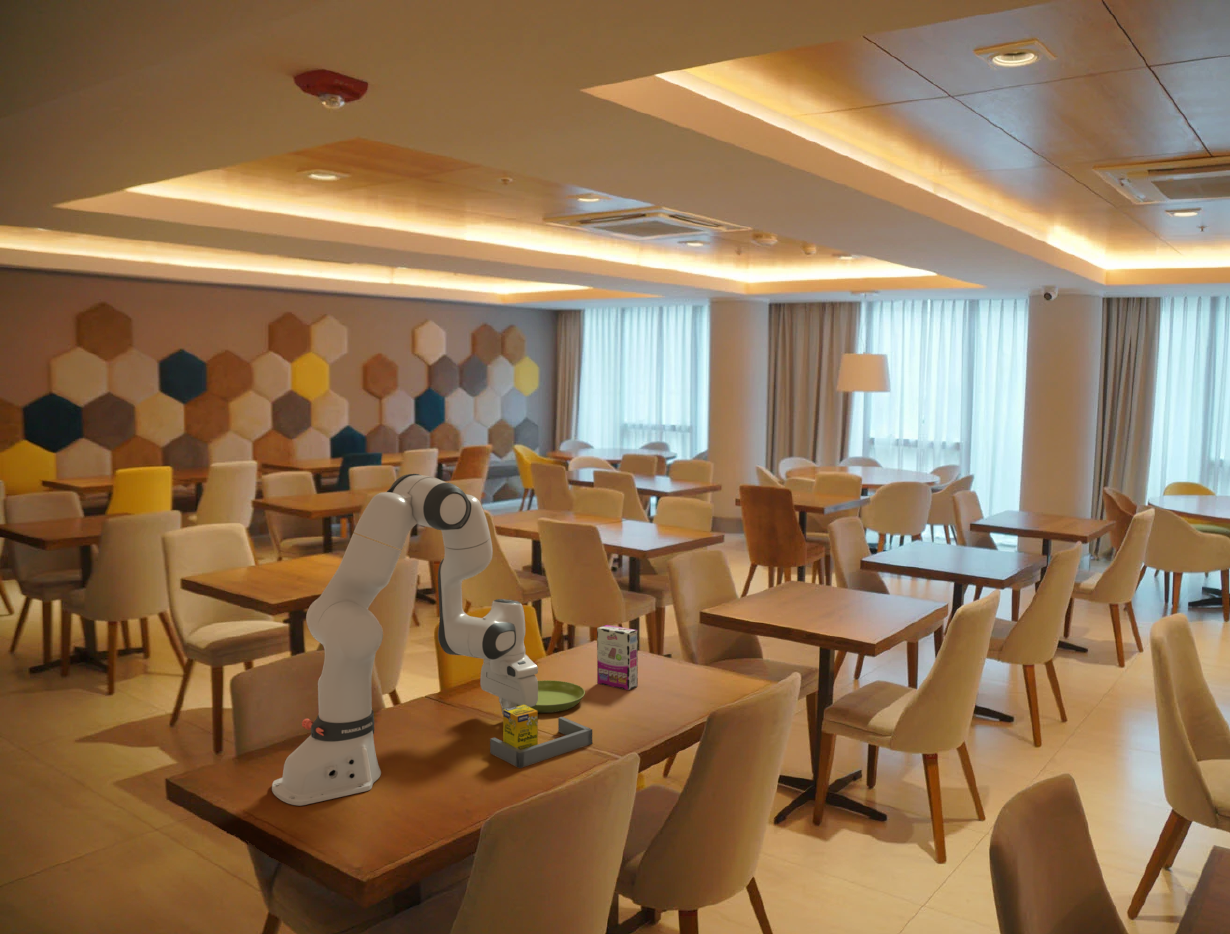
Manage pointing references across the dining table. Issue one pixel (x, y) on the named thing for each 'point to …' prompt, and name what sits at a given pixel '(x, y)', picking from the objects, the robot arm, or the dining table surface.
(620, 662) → the candy bar box
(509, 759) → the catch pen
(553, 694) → the saucer
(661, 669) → the dining table surface
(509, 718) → the supplement box
